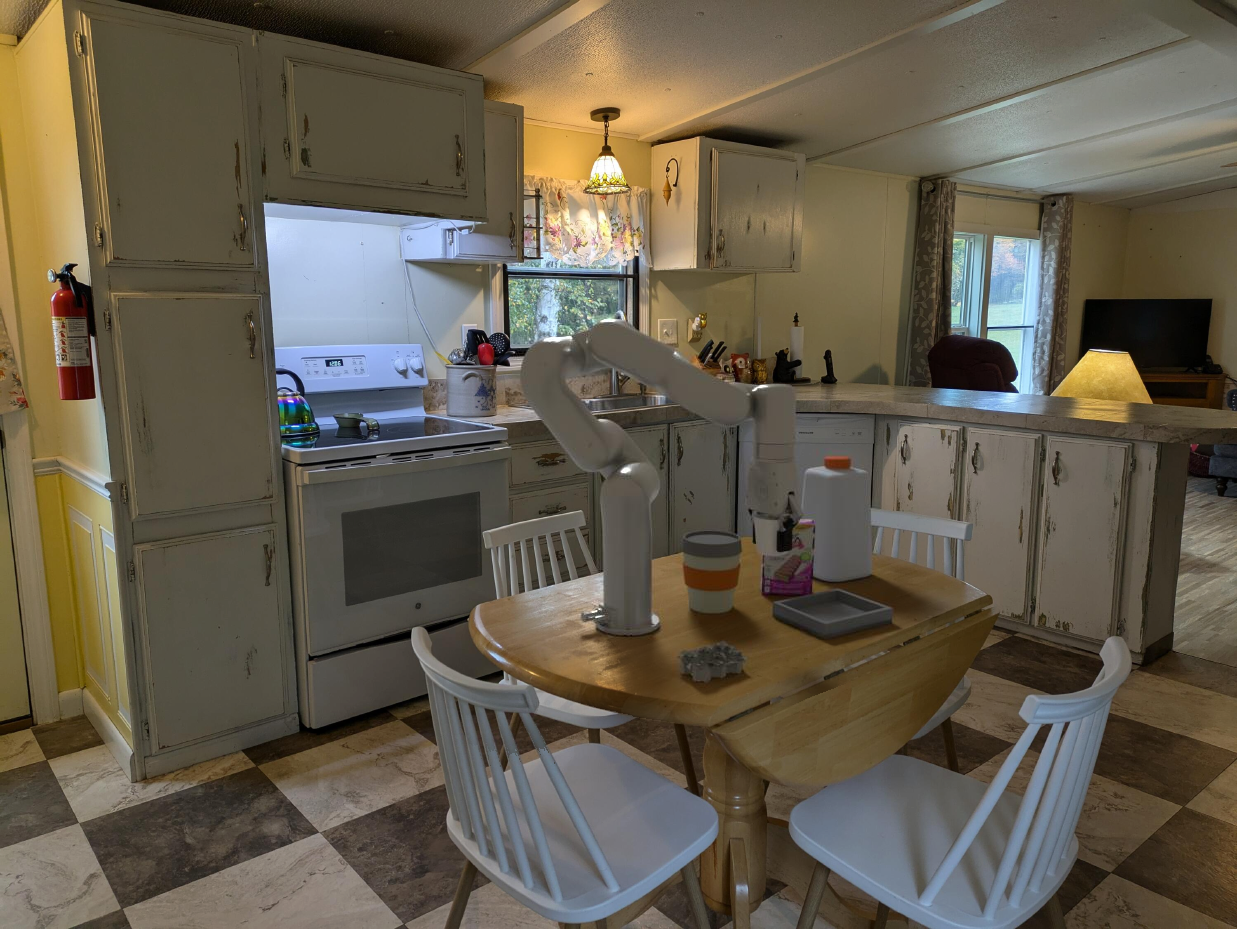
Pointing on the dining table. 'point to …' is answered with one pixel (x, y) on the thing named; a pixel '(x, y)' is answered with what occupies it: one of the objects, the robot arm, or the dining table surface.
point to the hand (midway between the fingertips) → (772, 546)
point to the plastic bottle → (839, 519)
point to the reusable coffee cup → (711, 569)
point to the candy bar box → (791, 564)
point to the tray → (832, 613)
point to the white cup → (767, 534)
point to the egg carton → (711, 661)
